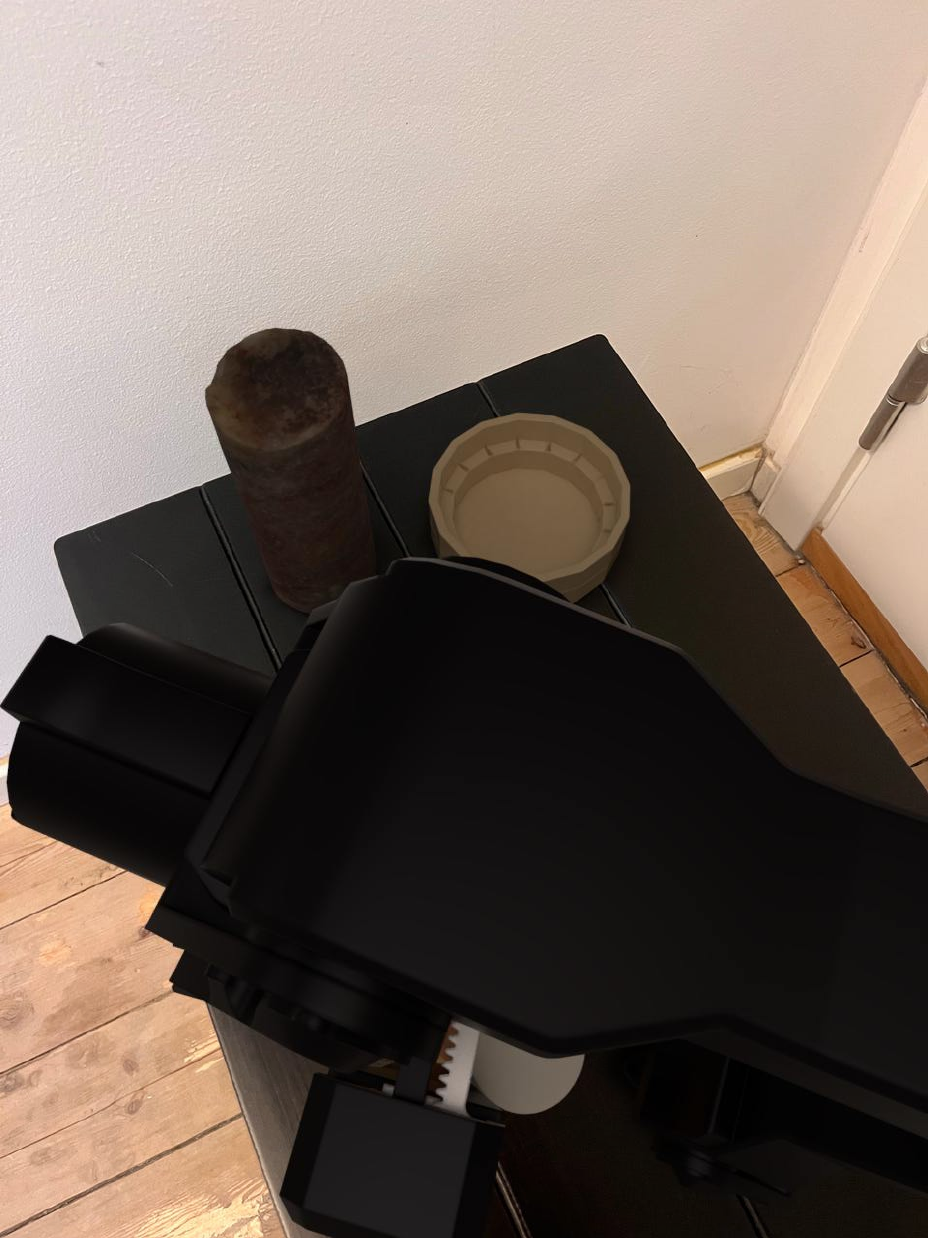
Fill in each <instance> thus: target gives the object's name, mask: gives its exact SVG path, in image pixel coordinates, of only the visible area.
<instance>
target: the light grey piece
mask: <svg viewBox="0 0 928 1238" xmlns="http://www.w3.org/2000/svg"><path fill="white" fill-rule="evenodd" d="M452 1022H456V1021H453V1020H451V1023H452ZM451 1023H450V1026H449V1028H448V1032H447V1035H446V1038H445V1040H444V1043H443V1046H442V1049H441V1051H440V1054H439V1056H440V1057H441V1058H442V1059H444V1060H445V1061H452V1057H451V1056H449V1055H448V1054H447V1053H446V1052H445V1049H446V1048H453V1047H455V1044H454V1043H453V1042H451V1041H450V1040H449V1039H448V1036H449V1035H455V1034H458V1032H459V1031H457V1030H456V1029H454V1028H453V1027H452V1026H451ZM585 1055H586V1054H583V1055H577V1056H571V1057H565V1058H559V1059H545V1058H542V1057H538V1056H534V1055H532V1054H530V1053H528V1052H525V1051H523V1050H521V1049H518V1048H516V1047H514V1046H511V1045H509V1044H507V1043H504V1042H502V1041H500V1040H497V1039H495V1038H493V1037H491V1036H488V1035H486V1034H484V1033H481V1036H480V1040H479V1045H478V1050H477V1054H476V1059H475V1064H474V1068H473V1073H472V1077H471V1083H472V1084H473V1085H474V1086H475V1087H476V1088H477V1089H478V1090H479V1091H480V1092H482V1093H483V1094H484V1095H485V1096H486V1097H487V1098H488V1099H490V1100H491V1101H492V1102H493V1103H494V1104H495V1105H496V1106H497V1107H499V1108H500V1109H501V1110H503V1111H506V1112H509V1113H512V1114H517V1115H532V1114H537V1113H541V1112H544V1111H546V1110H549V1109H551V1108H552V1107H555V1105H557V1104H559V1103H560V1102H561V1101H562V1100H564V1099H565V1097H566V1096H567V1095H568V1094H569V1093H570V1092H571V1090H572V1088H573V1087H574V1086H575V1085H576V1083H577V1080H578V1078H579V1077H580V1074H581V1071H582V1069H583V1065H584V1061H585Z"/></svg>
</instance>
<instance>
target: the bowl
mask: <svg viewBox="0 0 928 1238" xmlns="http://www.w3.org/2000/svg"><path fill="white" fill-rule="evenodd" d="M431 474H432V475H431V480H430V481H431V482H430V489H429V496H428V512H429V523H430V524H429V525H430V526H429V527H430V537H431V540H432V543H433V546H434V550H435V552H436V555H437V558H442V557H447V556H464V557H478V558H482V559H485V560H489V561H493V562H497V563H501V564H505V565H508V566H510V567H513V568H515V569H517V570H519V571H522V572H524V573H526V574H529V575H531V576H533V577H536V578H538V579H539V580H541V581H542V582H544V583H545V584H547V585H549V586H550V587H552V588H553V589H555V590H556V591H558V592H560V593H561V594H563V595H564V596H565V597H566V598H567V599H568V600H569V601H570V602H571V603H572V604H575V603H577V602H578V601H579V600H581V599H582V598H583V597H584V596H586V595H588V594H589V593H590V592H591V591H593V590H594V589H595V588H597V587H598V586H599V585H601V584H602V583H603V582H604V581H605V580H606V578H607V576H608V574H609V573H610V570H611V569H612V568H613V565H614V563H615V561H616V559H617V558H618V556H619V554H620V551H621V548H622V544H623V541H624V538H625V534H626V531H627V528H628V524H629V521H630V517H631V484H630V481H629V479H628V477H627V475H626V473H625V470H624V468H623V465H622V464H621V461H620V459H619V457H618V455H617V453H615V451H613V449H611V448H610V447H609V446H608V445H607V444H606V443H605V442H603V440H602V439H600V438H599V437H598V436H597V435H596V434H595V433H594V432H593V431H592V430H590V429H588V428H586V427H584V426H581V425H579V424H577V423H574V422H572V421H569V420H567V419H565V418H562V417H559V416H558V415H553V414H552V415H551V414H541V413H540V414H539V413H527V412H525V413H524V412H515V413H512V414H511V413H510V414H507V415H502V416H498V417H495V418H490V419H487V420H483V421H480V422H479V423H477V424H476V425H474V426H473V427H471V428H469V429H467V430H466V431H464V432H463V433H462V434H460V435H459V436H457V437H456V438H454V439H453V440H452V441H451V442H450V444H449V445H448V446H447V447H446V449H445V451H444V452H443V454H442V455H441V457H440V458H439V460H438V461H437V462H436V464H435V465H434V467H433V469H432V473H431Z"/></svg>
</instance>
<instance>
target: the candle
mask: <svg viewBox="0 0 928 1238" xmlns="http://www.w3.org/2000/svg"><path fill="white" fill-rule="evenodd" d="M204 401H205V406H206V409H207V411H208V414H209V417H210V420H211V423H212V425H213V428H214V432H215V434H216V436H217V439H218V442H219V445H220V449H221V451H222V453H223V456H224V459H225V461H226V463H227V466H228V469H229V471H230V474H231V476H232V479H233V482H234V485H235V488H236V491H237V494H238V496H239V499H240V501H241V504H242V507H243V509H244V512H245V514H246V517H247V518H246V519H247V521H248V523H249V527H250V528H251V531H252V534H253V537H254V540H255V543H256V545H257V548H258V551H259V554H260V557H261V560H262V563H263V566H264V568H265V571H266V574H267V576H268V578H269V579H268V580H269V582H270V584H271V587H272V589H273V591H274V593H275V595H276V596H277V597H278V599H279V600H281V601H282V602H283V603H284V604H286V605H288V606H289V607H291V608H293V609H295V610H297V611H299V612H301V613H305V614H308V615H310V614H311V612H312V610H313V609H315V608H318V607H320V606H322V605H325V604H327V603H329V602H332V601H334V600H337V599H338V598H339V597H340V596H341V594H342V593H343V592H344V591H345V589H346V588H347V587H348V586H349V584H350V583H352V582H356V581H359V580H363V579H366V578H370V577H373V576H376V572H377V555H376V548H375V541H374V534H373V527H372V522H371V521H372V520H371V514H370V510H369V503H368V497H367V494H366V488H365V481H364V474H363V468H362V463H361V458H360V449H359V443H358V436H357V429H356V422H355V418H354V416H355V415H354V409H353V403H352V395H351V389H350V382H349V375H348V372H347V368H346V365H345V362H344V360H343V358H342V357H341V355H340V354H339V353H338V352H337V351H336V349H335V348H334V347H333V346H332V345H331V344H330V343H328V341H326V339H324V338H323V337H321V336H319V335H317V334H315V333H314V332H313V331H309V330H301V329H297V328H282V327H271V328H265V329H262V330H259V331H257V332H254V333H253V332H252V333H251V334H249V335H247V336H245V337H243V338H242V340H240V341H239V342H237V343H235V344H234V345H232V346H231V347H229V348H228V349H227V350H226V352H225V353H224V354H223V356H222V357H221V358H220V359H219V361H218V362H217V364H216V369H215V371H214V374H213V377H212V380H211V381H210V384H209V385H208V386H206V387H205V390H204Z"/></svg>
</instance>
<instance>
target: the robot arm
mask: <svg viewBox="0 0 928 1238" xmlns="http://www.w3.org/2000/svg"><path fill="white" fill-rule="evenodd" d="M0 709H1V710H3V711H4V712H6V713H7V714H8V715H10V716H11V717H13V718H14V719H16V720H17V721H18V722H19V724H18V725H17V729H16V731H15V732H16V733H15V735H14V737H13V738H14V739H13V742H12V745H11V746H12V747H11V748H10V753H9V755H8V764H7V772H6V773H7V774H6V783H5V784H6V791H7V801H8V805H9V807H10V808H11V810H10V817H11V819H12V820H14V821H15V822H16V823H18V824H19V825H20V826H23V827H25V828H27V829H30V830H32V831H35V832H37V833H39V834H41V835H44V836H46V837H49V838H50V839H53V840H55V841H57V842H60V843H62V844H64V845H67V846H68V847H71V848H74V849H75V850H77V851H80V852H83V853H85V854H87V855H89V856H92V857H94V858H97V859H99V860H101V861H103V862H106V863H108V864H110V865H112V866H115V867H117V868H119V869H122V870H124V871H126V872H128V873H130V874H133V875H134V876H135V875H136V876H137V877H140V878H142V879H144V880H147V881H149V882H151V883H153V884H156V885H158V886H159V887H163V888H164V890H163V892H162V894H161V895H160V897H159V899H158V901H157V903H156V905H155V906H154V909H153V910H152V913H150V916H149V918H148V920H147V922H146V923H145V925H144V927H143V929H144V930H146V931H147V932H149V933H152V934H153V935H155V936H158V937H159V938H161V939H163V940H165V941H167V942H168V943H170V944H172V947H174V948H177V949H179V950H183V951H182V952H181V953H182V954H181V955H180V957H179V959H178V961H177V963H176V965H175V967H174V969H173V971H172V973H171V975H170V977H169V979H168V982H169V983H171V984H172V985H171V989H172V992H173V993H175V994H178V995H182V996H185V997H188V998H191V999H196V1000H198V1001H202V1002H205V1004H208V1005H209V1006H212V1007H213V1008H215V1009H217V1010H218V1011H220V1012H222V1013H224V1014H226V1015H227V1016H229V1017H230V1018H232V1019H234V1020H236V1021H238V1022H240V1023H241V1024H243V1025H245V1026H246V1027H248V1028H250V1029H252V1030H254V1031H255V1032H257V1033H259V1034H260V1035H262V1036H264V1037H266V1038H267V1039H269V1040H271V1041H272V1042H275V1043H276V1044H278V1045H280V1046H281V1047H284V1049H285V1048H286V1049H287V1050H289V1051H290V1052H293V1053H295V1054H297V1055H299V1056H301V1057H303V1058H305V1059H307V1060H309V1061H312V1062H314V1063H317V1064H319V1065H321V1066H324V1067H325V1068H328V1070H327V1073H323V1072H321V1071H320V1072H314V1073H313V1075H312V1079H311V1082H310V1086H309V1089H308V1093H307V1096H306V1100H305V1103H304V1107H303V1110H302V1114H301V1117H300V1120H299V1123H298V1128H297V1131H296V1135H295V1138H294V1141H293V1145H292V1148H291V1152H290V1155H289V1158H288V1163H287V1165H286V1170H285V1172H284V1176H283V1179H282V1184H281V1187H280V1191H279V1194H278V1196H279V1198H280V1200H281V1202H282V1204H283V1206H284V1207H285V1210H286V1212H287V1214H288V1215H289V1218H290V1220H291V1221H292V1222H293V1223H294V1224H296V1225H298V1226H300V1227H302V1228H303V1229H305V1230H306V1231H309V1232H312V1233H315V1234H318V1235H322V1236H325V1237H328V1238H485V1234H486V1228H487V1225H488V1219H489V1214H490V1208H491V1203H492V1198H493V1192H494V1188H495V1182H496V1178H497V1173H498V1167H499V1162H500V1159H501V1158H500V1157H501V1152H502V1146H503V1142H504V1136H505V1132H506V1125H505V1124H502V1121H503V1115H504V1113H503V1109H502V1108H500V1107H498V1106H496V1105H495V1104H494V1103H493V1102H492V1101H491V1100H490V1099H488V1098H487V1097H486V1096H485V1095H484V1094H483V1093H482V1092H480V1091H479V1090H478V1089H477V1088H476V1087H475V1086H474V1085H473V1084H472V1083H470V1082H471V1077H472V1073H473V1068H474V1064H475V1059H476V1054H477V1050H478V1045H479V1040H480V1036H481V1033H484V1034H486V1035H488V1036H491V1037H493V1038H495V1039H497V1040H500V1041H502V1042H504V1043H507V1044H509V1045H511V1046H514V1047H516V1048H518V1049H521V1050H523V1051H525V1052H528V1053H530V1054H532V1055H534V1056H538V1057H542V1058H545V1059H559V1058H565V1057H571V1056H577V1055H583V1054H585V1055H588V1054H589V1055H590V1054H594V1053H602V1052H606V1051H612V1050H618V1049H624V1048H625V1049H626V1048H632V1047H637V1048H635V1049H634V1050H633V1051H632V1052H631V1053H630V1054H629V1055H628V1056H627V1057H626V1058H625V1059H624V1060H623V1061H622V1064H621V1071H622V1073H623V1075H624V1076H625V1077H626V1079H627V1080H628V1081H629V1083H630V1084H631V1085H632V1086H633V1088H634V1089H635V1090H636V1094H635V1098H634V1102H633V1106H632V1111H631V1115H630V1116H631V1119H632V1121H633V1123H634V1124H636V1125H638V1126H641V1127H643V1128H645V1129H647V1130H649V1131H652V1132H654V1133H653V1137H652V1141H651V1145H650V1149H649V1151H651V1152H653V1153H655V1157H654V1158H655V1159H656V1160H659V1161H661V1162H662V1163H665V1164H667V1165H668V1166H671V1168H672V1170H673V1173H674V1175H675V1176H676V1178H677V1181H678V1183H679V1185H681V1186H683V1187H685V1188H687V1189H689V1190H693V1191H695V1192H697V1193H700V1194H703V1195H705V1196H709V1197H710V1198H713V1199H715V1200H719V1201H725V1200H727V1199H729V1198H730V1197H732V1196H735V1195H738V1196H741V1197H743V1198H746V1199H748V1200H751V1201H753V1202H755V1203H758V1204H760V1205H762V1206H765V1207H768V1208H769V1206H770V1204H772V1205H773V1206H776V1207H778V1208H781V1209H784V1210H786V1211H788V1212H789V1211H790V1209H791V1204H792V1198H793V1193H796V1192H799V1191H800V1190H804V1189H805V1188H808V1187H809V1186H811V1185H813V1184H816V1183H817V1182H818V1183H819V1181H822V1180H825V1179H827V1178H828V1177H831V1176H833V1175H835V1174H837V1173H839V1172H841V1171H844V1170H845V1169H846V1170H850V1171H851V1172H855V1173H858V1174H860V1175H863V1176H865V1177H868V1178H871V1179H873V1180H876V1181H879V1182H881V1183H884V1184H885V1185H886V1184H887V1185H889V1186H892V1187H894V1188H896V1189H899V1190H902V1191H904V1192H908V1193H910V1194H912V1195H915V1196H917V1197H920V1198H923V1199H926V1200H928V815H926V814H924V813H920V812H918V811H914V810H911V809H909V808H905V807H903V806H898V805H896V804H894V803H890V802H887V801H884V800H881V799H878V798H875V797H873V796H870V795H867V794H865V793H861V792H859V791H856V790H854V789H853V788H849V787H847V786H844V785H842V784H840V783H837V782H834V781H832V780H829V779H828V778H825V777H823V776H821V775H817V774H815V773H812V772H810V771H808V770H805V769H802V768H800V767H798V766H795V765H793V764H791V763H789V762H788V761H787V760H786V759H785V758H784V757H783V755H781V754H780V752H779V751H778V750H777V749H776V748H775V747H774V746H773V745H772V744H771V742H769V740H768V739H767V738H766V737H765V736H764V735H763V734H762V733H761V731H759V730H758V729H757V728H756V726H755V725H754V724H753V722H751V721H750V720H749V718H747V716H746V715H745V714H744V713H743V712H742V711H741V710H740V709H739V708H738V707H737V705H736V704H735V703H734V702H733V701H732V700H731V699H730V698H729V697H728V695H726V694H725V692H724V691H723V690H722V689H721V688H720V687H719V686H718V685H717V683H716V682H714V681H713V679H712V678H711V677H710V676H709V675H708V674H707V673H706V672H705V670H703V668H702V667H701V666H700V665H699V664H698V663H697V662H696V661H695V660H694V658H692V657H691V656H690V655H689V654H688V653H687V652H685V650H683V649H682V648H681V647H678V646H676V645H674V644H672V643H671V642H668V641H665V640H663V639H662V638H658V637H656V636H653V635H651V634H648V633H646V632H644V631H641V630H638V629H637V628H633V627H631V626H629V625H626V624H624V623H621V622H619V621H616V620H614V619H611V618H609V617H606V616H603V615H602V614H599V613H596V612H594V611H592V610H589V609H586V608H584V607H581V606H579V605H576V604H575V603H571V602H570V601H569V600H568V599H567V598H566V597H565V596H564V595H563V594H561V593H560V592H558V591H556V590H555V589H553V588H552V587H550V586H549V585H547V584H545V583H544V582H542V581H541V580H539V579H538V578H536V577H533V576H531V575H529V574H526V573H524V572H522V571H519V570H517V569H515V568H513V567H510V566H508V565H505V564H501V563H497V562H493V561H489V560H485V559H482V558H478V557H464V556H447V557H442V558H438V557H437V558H432V557H418V556H417V557H416V556H408V557H403V558H398V559H395V560H392V562H390V564H389V566H388V569H387V570H386V573H385V574H378V575H377V574H376V575H375V576H373V577H370V578H366V579H363V580H359V581H356V582H352V583H350V584H349V586H348V587H347V588H346V589H345V591H344V592H343V593H342V594H341V596H340V597H339V598H338V599H337V600H334V601H332V602H329V603H327V604H325V605H322V606H320V607H318V608H315V609H313V610H312V612H311V614H309V616H308V617H307V619H306V622H305V623H304V625H303V627H302V629H301V631H300V633H299V635H298V637H297V639H296V640H295V643H294V644H293V646H292V648H291V650H290V651H289V653H288V654H287V655H286V656H285V658H284V660H283V662H282V663H281V666H280V667H279V669H278V671H277V673H276V675H275V676H274V677H273V676H270V675H268V674H265V673H262V672H261V671H260V672H259V671H257V670H254V669H251V668H249V667H246V666H244V665H241V664H238V663H236V662H233V661H231V660H227V659H225V658H222V657H220V656H217V655H214V654H211V653H209V652H207V651H204V650H201V649H199V648H196V647H193V646H191V645H189V644H188V645H187V644H186V643H183V642H180V641H177V640H175V639H171V638H170V637H167V636H164V635H162V634H160V633H159V634H158V633H156V632H154V631H150V630H148V629H145V628H143V627H140V626H138V625H134V624H131V623H127V622H117V623H109V624H106V625H104V626H100V627H99V628H97V629H95V630H93V631H91V632H89V633H88V634H86V635H84V636H83V637H81V639H80V640H78V641H77V642H76V643H75V642H71V641H69V640H66V639H64V638H62V637H58V636H56V635H53V634H47V635H45V637H44V638H43V640H42V641H41V643H40V644H39V646H38V647H37V649H36V650H35V652H33V655H32V656H31V658H30V659H29V661H28V663H27V664H26V665H25V667H24V668H23V670H22V671H21V672H20V674H19V676H18V677H17V679H16V680H15V682H14V683H13V684H12V686H11V688H10V689H9V691H8V692H7V693H6V695H5V697H4V698H3V700H2V701H1V703H0ZM451 1020H453V1021H456V1022H452V1023H451ZM450 1023H451V1026H452V1027H453V1028H454V1029H456V1030H457V1031H459V1032H458V1034H455V1035H449V1036H448V1039H449V1040H450V1041H451V1042H453V1043H454V1044H455V1047H453V1048H446V1049H445V1052H446V1053H447V1054H448V1055H449V1056H451V1057H452V1061H444V1062H442V1064H441V1063H437V1060H438V1057H439V1054H440V1051H441V1049H442V1046H443V1043H444V1040H445V1038H446V1035H447V1032H448V1028H449V1026H450ZM381 1060H387V1061H392V1062H390V1063H388V1064H385V1065H382V1066H372V1064H375V1063H377V1062H378V1061H381ZM630 1064H633V1065H634V1067H635V1070H634V1072H630V1071H629V1068H628V1067H629V1065H630Z"/></svg>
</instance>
